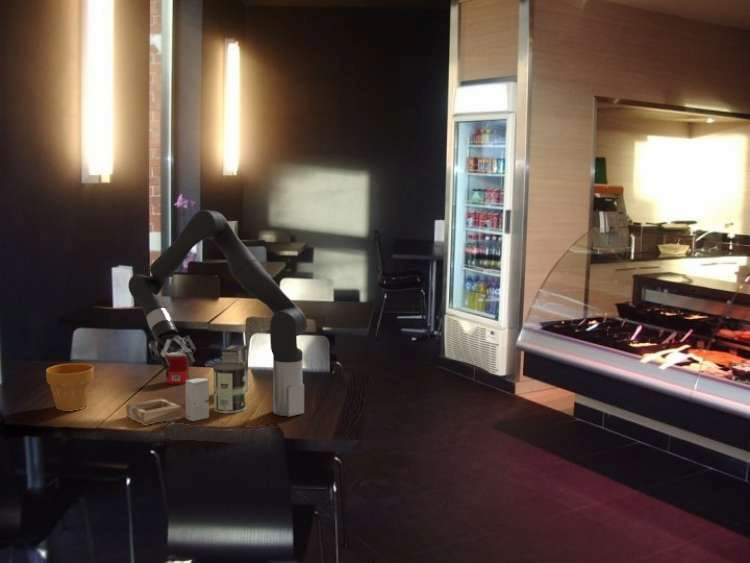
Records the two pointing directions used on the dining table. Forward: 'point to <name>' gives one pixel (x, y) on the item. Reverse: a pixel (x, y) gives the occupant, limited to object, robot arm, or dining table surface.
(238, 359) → the coffee box
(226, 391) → the coffee can
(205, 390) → the skincare box
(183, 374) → the canned food
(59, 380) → the flower pot
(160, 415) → the frame
